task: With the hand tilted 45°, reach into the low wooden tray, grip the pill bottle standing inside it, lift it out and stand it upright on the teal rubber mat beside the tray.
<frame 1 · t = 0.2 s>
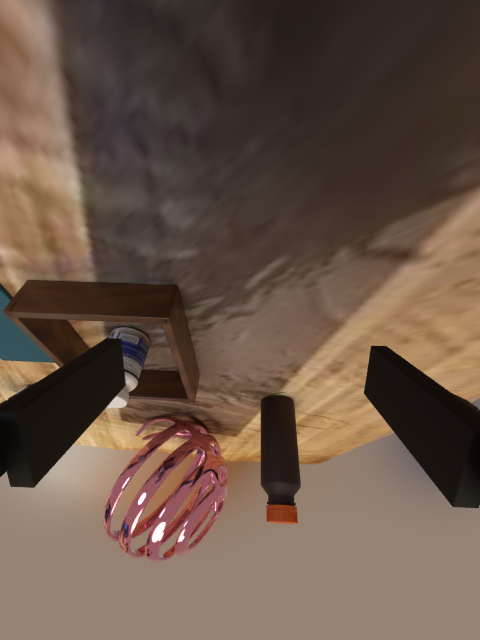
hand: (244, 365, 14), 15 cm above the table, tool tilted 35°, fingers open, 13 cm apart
pill bottle: (131, 336, 40), resting in wooden tray
spiral basket: (185, 424, 70), on the table
wooden tray: (131, 337, 40), on the table
vinegar: (277, 400, 56), on the table
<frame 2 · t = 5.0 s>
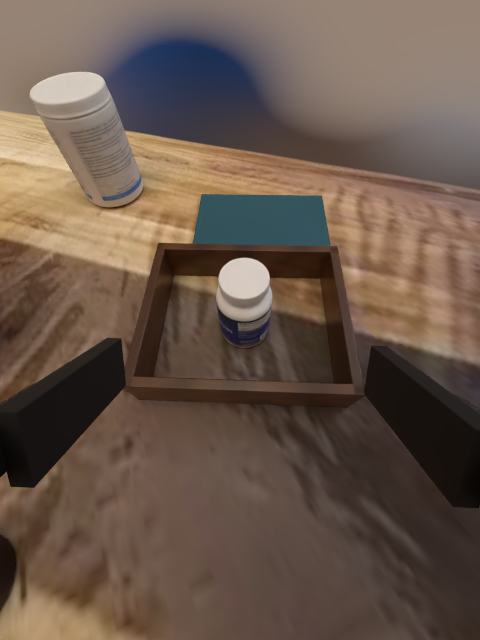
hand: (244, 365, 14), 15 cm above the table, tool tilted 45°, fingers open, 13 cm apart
pill bottle: (244, 329, 33), resting in wooden tray
wooden tray: (244, 328, 33), on the table
supplement tub: (116, 193, 47), on the table
mat: (261, 222, 42), on the table
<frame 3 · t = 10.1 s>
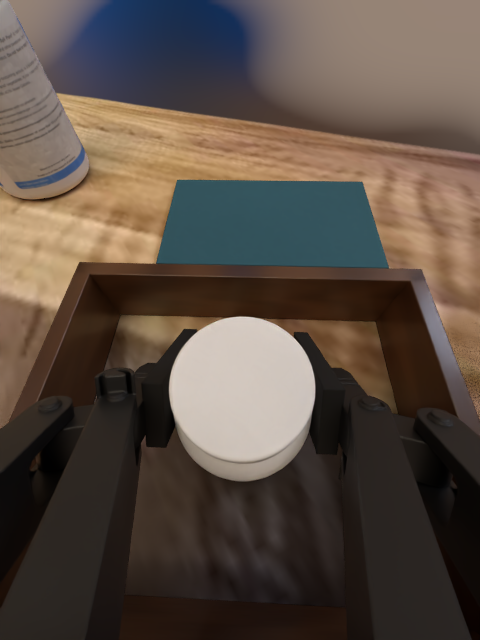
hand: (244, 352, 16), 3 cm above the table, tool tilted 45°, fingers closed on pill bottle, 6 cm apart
pill bottle: (243, 427, 17), resting in wooden tray, touching gripper
wooden tray: (242, 426, 17), on the table
supplement tub: (50, 178, 31), on the table
mat: (269, 222, 27), on the table
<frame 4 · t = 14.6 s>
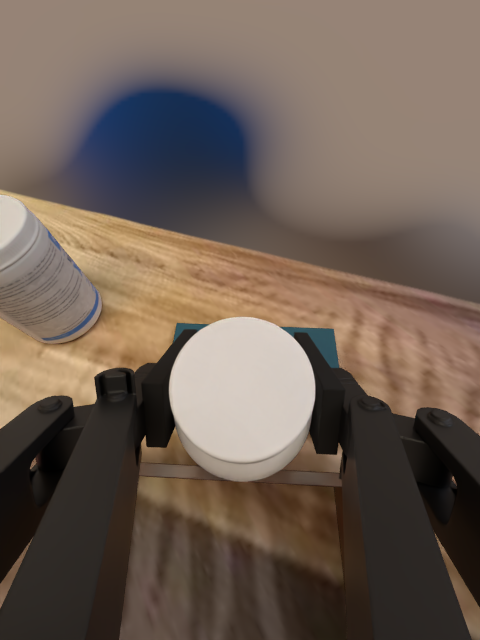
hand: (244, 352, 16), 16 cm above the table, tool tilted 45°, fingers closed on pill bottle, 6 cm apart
pill bottle: (243, 427, 17), point 12 cm above the table, touching gripper
wooden tray: (224, 591, 22), on the table
supplement tub: (68, 315, 36), on the table
mat: (253, 372, 32), on the table
when the fingers open (4 cm above the table, at t = 19.3 s): pill bottle stays where it is, resting on mat.
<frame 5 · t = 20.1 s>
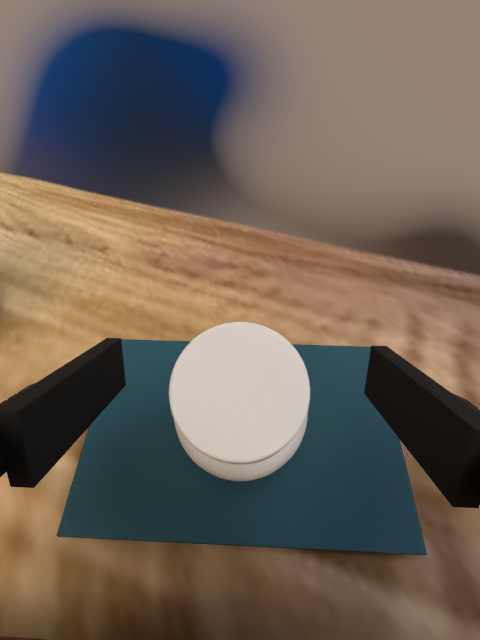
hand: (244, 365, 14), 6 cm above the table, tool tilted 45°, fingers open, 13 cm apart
pill bottle: (241, 427, 18), resting on mat
mat: (242, 428, 18), on the table
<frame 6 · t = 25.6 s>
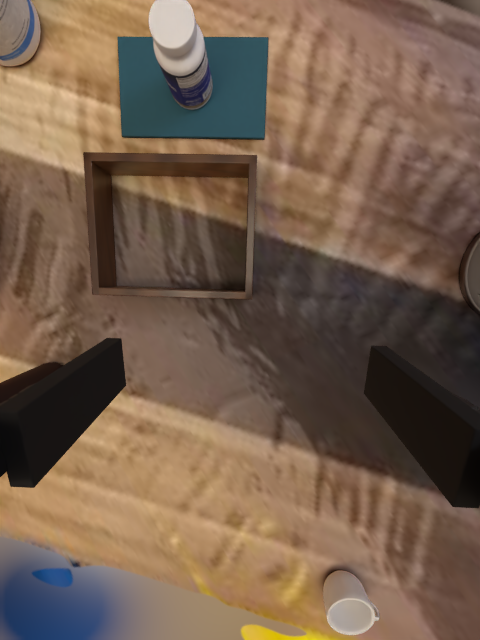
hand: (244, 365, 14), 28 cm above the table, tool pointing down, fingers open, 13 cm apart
pill bottle: (192, 89, 37), resting on mat
teacup: (344, 580, 50), on the table
wooden tray: (180, 234, 40), on the table
supplement tub: (10, 32, 37), on the table
vinegar: (56, 380, 45), on the table
mat: (193, 90, 37), on the table
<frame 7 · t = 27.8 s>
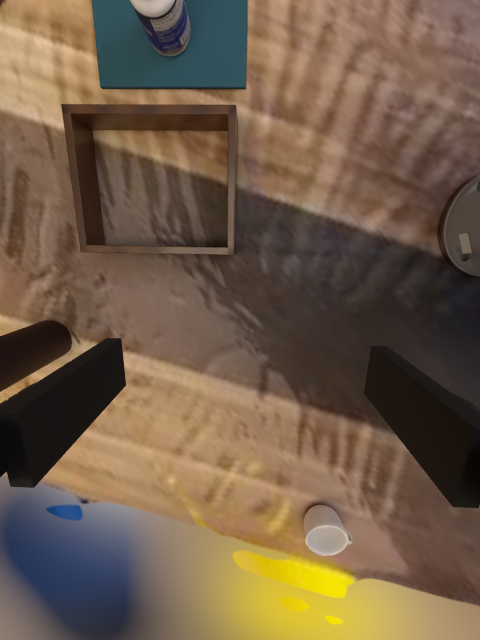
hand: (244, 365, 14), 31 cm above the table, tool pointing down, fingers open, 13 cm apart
pill bottle: (170, 33, 35), resting on mat
teacup: (324, 513, 56), on the table
wooden tray: (164, 191, 41), on the table
vinegar: (54, 337, 48), on the table
mat: (171, 35, 36), on the table
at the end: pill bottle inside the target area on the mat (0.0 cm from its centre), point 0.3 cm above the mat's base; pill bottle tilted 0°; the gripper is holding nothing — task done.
